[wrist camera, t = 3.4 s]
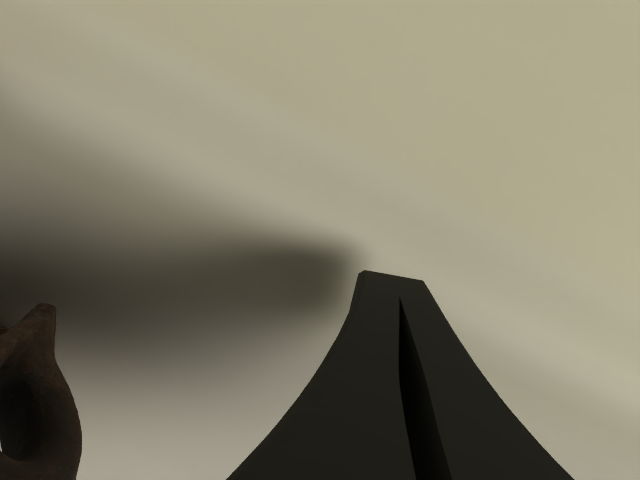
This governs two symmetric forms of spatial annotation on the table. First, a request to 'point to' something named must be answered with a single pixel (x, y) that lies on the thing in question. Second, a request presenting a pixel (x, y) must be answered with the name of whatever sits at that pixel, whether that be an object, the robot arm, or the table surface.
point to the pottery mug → (36, 404)
